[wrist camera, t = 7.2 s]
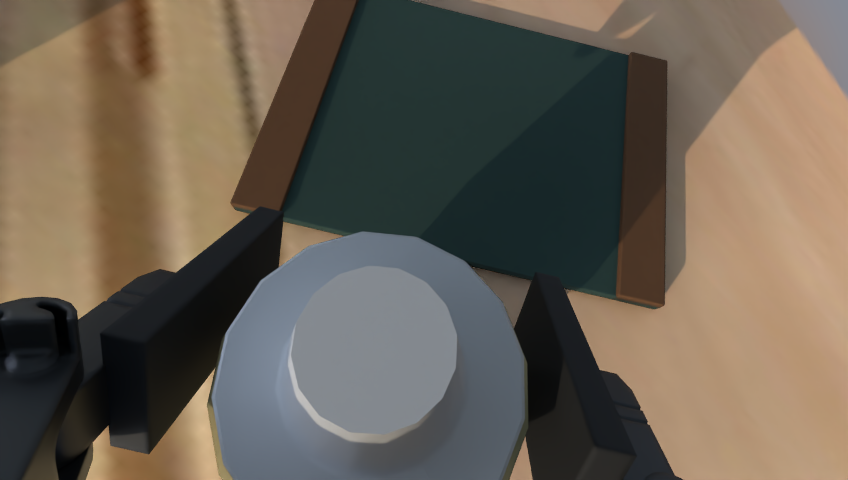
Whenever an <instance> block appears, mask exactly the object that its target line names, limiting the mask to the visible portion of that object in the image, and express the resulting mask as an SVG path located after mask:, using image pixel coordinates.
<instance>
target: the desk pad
mask: <svg viewBox="0 0 848 480" xmlns="http://www.w3.org/2000/svg"><path fill="white" fill-rule="evenodd" d="M666 129H667V61H665V60H661V59H657V58H653V57H649V56H646V55H642V54H638V53H634V52H631V53H630V54H629V55H626V54H622V53H618V52H614V51H610V50H606V49H602V48H598V47H594V46H590V45H586V44H582V43H578V42H574V41H570V40H566V39H562V38H558V37H554V36H550V35H546V34H542V33H538V32H534V31H530V30H526V29H522V28H518V27H514V26H510V25H506V24H502V23H498V22H494V21H490V20H486V19H482V18H478V17H474V16H470V15H466V14H462V13H458V12H454V11H450V10H446V9H442V8H438V7H434V6H430V5H426V4H422V3H418V2H414V1H410V0H315V1H314V3H313V5H312V8H311V10H310V13H309V15H308V17H307V20H306V22H305V25H304V27H303V29H302V32H301V34H300V37H299V39H298V41H297V44H296V46H295V49H294V51H293V53H292V56H291V58H290V61H289V63H288V65H287V68H286V70H285V73H284V75H283V77H282V80H281V82H280V85H279V87H278V90H277V92H276V94H275V97H274V99H273V102H272V104H271V106H270V109H269V111H268V114H267V116H266V118H265V121H264V123H263V126H262V128H261V130H260V133H259V135H258V138H257V140H256V142H255V145H254V147H253V150H252V152H251V154H250V157H249V159H248V162H247V164H246V166H245V169H244V171H243V174H242V176H241V179H240V181H239V183H238V186H237V188H236V191H235V193H234V195H233V198H232V200H231V204H232V206H233V207H234V209H235V210H237V211H241V212H246V213H250V214H251V213H252V212H253V211H254V210H256V209H257V208H258V207H259V206H261V207H265V208H270V209H274V210H278V211H282V212H284V217H283V221H284V222H288V223H292V224H296V225H301V226H305V227H309V228H313V229H317V230H322V231H326V232H330V233H334V234H339V235H343V236H348V235H351V234H355V233H359V232H373V233H383V234H393V235H403V236H413V237H418V238H420V239H422V240H424V241H426V242H428V243H430V244H432V245H434V246H436V247H438V248H440V249H442V250H444V251H446V252H448V253H450V254H452V255H454V256H456V257H458V258H460V259H462V260H464V261H465V262H466V263H467V264H468V265H469V266H474V267H478V268H482V269H486V270H491V271H495V272H499V273H503V274H507V275H512V276H516V277H520V278H524V279H529V280H533V277H534V274H535V272H539V273H543V274H547V275H552V276H556V277H559V278H560V280H561V283H562V285H563V287H564V288H567V289H571V290H575V291H579V292H583V293H588V294H592V295H596V296H600V297H605V298H609V299H613V300H617V301H622V302H626V303H630V304H634V305H638V306H643V307H647V308H651V309H657V308H660V307H662V306H664V305H665V219H666Z"/></svg>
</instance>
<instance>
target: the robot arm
mask: <svg viewBox="0 0 848 480" xmlns="http://www.w3.org/2000/svg"><path fill="white" fill-rule="evenodd" d="M283 217H284V212H282V211H278V210H274V209H270V208H265V207H261V206H259V207H258V208H257V209H256V210H254V211H253V212H252V213H251V214H249V215H248V216H247V217H246V218H244V219H243V220H242V221H240V222H239V223H238V224H237V225H235V226H234V227H233V228H232V229H230V230H229V231H228V232H227V233H225V234H224V235H223V236H222V237H220V238H219V239H218V240H217V241H215V242H214V243H213V244H212V245H210V246H209V247H208V248H207V249H205V250H204V251H203V252H202V253H200V254H199V255H198V256H197V257H195V258H194V259H193V260H192V261H190V262H189V263H188V264H186V265H185V266H184V267H183V268H181V269H180V270H179V271H178V272H176V273H174V272H170V271H166V270H161V269H159V270H156V271H153V272H151V273H148V274H145V275H142V276H140V277H137V278H136V279H134V280H133V281H132V282H130V283H129V284H127V285H126V286H125V287H123V288H122V289H121V291H120V292H119V291H118V292H116V293H115V294H113V295H112V296H111V297H109V298H108V300H107V301H104V302H102V303H101V304H99V305H98V306H97V307H95V308H94V309H92V310H91V311H90V312H88V313H87V314H85V315H84V316H83V317H81V318H80V319H79V320H78V317H77V310H76V309H75V308H74V306H73V305H72V304H71V303H69V302H67V301H64V300H61V299H59V298H49V297H33V298H22V299H18V300H14V301H9V302H5V303H2V304H0V480H86V477H87V474H88V471H89V468H90V466H91V463H92V460H93V443H92V442H93V441H94V440H95V439H96V438H97V437H98V436H99V435H100V434H101V433H102V431H103V430H104V429H105V428H106V427H107V426H108V425H109V434H110V444H111V446H114V447H119V448H123V449H128V450H132V451H137V452H141V453H146V454H150V452H151V451H152V450H153V448H154V447H155V446H156V445H157V443H158V442H159V441H160V439H161V438H162V437H163V435H164V434H165V433H166V431H167V430H168V429H169V427H170V426H171V425H172V424H173V422H174V421H175V420H176V418H177V417H178V416H179V414H180V413H181V412H182V410H183V409H184V408H185V406H186V405H187V404H188V403H189V401H190V400H191V399H192V397H193V396H194V395H195V393H196V392H197V391H198V389H199V388H200V387H201V385H202V384H203V383H204V382H205V380H206V379H207V378H208V376H209V375H210V374H211V372H212V371H213V370H214V368H215V367H216V363H217V359H218V354H219V350H220V345H221V341H222V338H223V337H224V335H225V334H226V332H227V330H228V329H229V327H230V326H231V324H232V323H233V321H234V320H235V318H236V317H237V315H238V314H239V312H240V311H241V309H242V308H243V306H244V305H245V303H246V302H247V300H248V299H249V297H250V296H251V294H252V293H253V291H254V290H255V288H256V287H257V285H258V284H259V282H260V281H261V280H262V279H264V278H265V277H266V276H268V275H269V274H270V273H272V272H273V271H275V270H276V269H277V268H278V267H279V257H280V247H281V237H282V227H283ZM514 331H515V333H516V336H517V338H518V341H519V343H520V346H521V348H522V351H523V354H524V356H525V359H526V361H527V376H528V430H527V432H526V435H525V436H526V442H527V448H528V454H529V459H530V465H531V471H532V477H533V480H683V479H681V478H679V477H677V476H675V475H674V473H673V471H672V469H671V467H670V465H669V463H668V461H667V459H666V457H665V455H664V453H663V451H662V449H661V447H660V445H659V443H658V441H657V439H656V437H655V435H654V433H653V431H652V429H651V427H650V425H647V422H648V421H647V419H646V417H645V415H644V413H643V411H641V410H640V405H639V403H638V401H637V399H636V397H635V395H634V393H633V392H632V390H631V389H630V388H629V387H628V386H627V385H626V383H625V382H624V381H623V380H622V379H621V378H620V377H619V376H618V375H617V374H614V373H610V372H606V371H601V370H599V368H598V365H597V363H596V361H595V358H594V356H593V354H592V352H591V349H590V347H589V345H588V342H587V340H586V338H585V335H584V333H583V331H582V329H581V326H580V324H579V322H578V319H577V317H576V315H575V313H574V310H573V308H572V306H571V303H570V301H569V299H568V297H567V294H566V292H565V290H564V287H563V285H562V283H561V280H560V278H559V277H556V276H552V275H547V274H543V273H539V272H535V274H534V277H533V280H532V282H531V285H530V288H529V290H528V293H527V296H526V298H525V301H524V304H523V306H522V309H521V312H520V314H519V317H518V320H517V322H516V325H515V328H514Z"/></svg>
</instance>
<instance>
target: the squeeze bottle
mask: <svg viewBox="0 0 848 480" xmlns="http://www.w3.org/2000/svg"><path fill="white" fill-rule="evenodd" d="M207 408H208V414H209V420H210V426H211V431H212V437H213V443H214V449H215V455H216V461H217V467H218V472H219V476H220V477H221V479H222V480H509V479H510V476H511V473H512V471H513V468H514V465H515V462H516V460H517V457H518V454H519V451H520V449H521V446H522V443H523V441H524V438H525V435H526V432H527V430H528V376H527V361H526V359H525V356H524V354H523V351H522V348H521V346H520V343H519V341H518V338H517V336H516V333H515V331H514V328H513V326H512V323H511V321H510V318H509V316H508V313H507V311H506V308H505V306H504V305H503V302H502V301H501V300H500V299H499V298H498V297H497V296H496V295H495V293H494V292H493V291H492V290H491V289H490V288H489V287H488V286H487V285H486V284H485V283H484V281H483V280H482V279H481V278H480V277H479V276H478V275H477V274H476V273H475V272H474V270H473V269H472V268H471V267H470V266H469V265H468V264H467V263H466V262H465V261H464V260H462V259H460V258H458V257H456V256H454V255H452V254H450V253H448V252H446V251H444V250H442V249H440V248H438V247H436V246H434V245H432V244H430V243H428V242H426V241H424V240H422V239H420V238H418V237H413V236H403V235H393V234H383V233H373V232H359V233H355V234H351V235H348V236H344V237H340V238H337V239H333V240H329V241H326V242H322V243H318V244H315V245H311V246H308V247H307V248H305V249H304V250H302V251H301V252H300V253H298V254H297V255H295V256H294V257H293V258H291V259H290V260H289V261H287V262H286V263H284V264H283V265H282V266H280V267H279V268H277V269H276V270H275V271H273V272H272V273H270V274H269V275H268V276H266V277H265V278H264V279H262V280H261V281H260V282H259V284H258V285H257V287H256V288H255V290H254V291H253V293H252V294H251V296H250V297H249V299H248V300H247V302H246V303H245V305H244V306H243V308H242V309H241V311H240V312H239V314H238V315H237V317H236V318H235V320H234V321H233V323H232V324H231V326H230V327H229V329H228V330H227V332H226V334H225V335H224V337H223V338H222V341H221V345H220V350H219V354H218V359H217V363H216V368H215V372H214V377H213V381H212V386H211V390H210V394H209V399H208V403H207Z"/></svg>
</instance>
